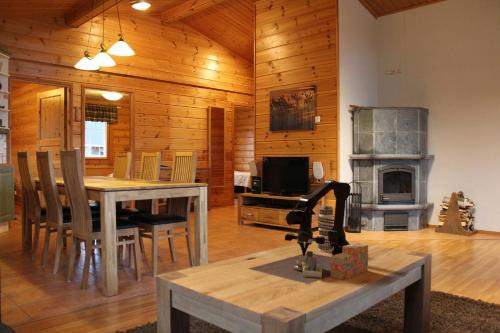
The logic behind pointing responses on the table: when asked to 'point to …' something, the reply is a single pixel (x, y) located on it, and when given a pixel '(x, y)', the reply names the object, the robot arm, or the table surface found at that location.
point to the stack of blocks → (350, 261)
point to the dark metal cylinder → (312, 264)
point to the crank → (299, 262)
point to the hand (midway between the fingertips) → (303, 256)
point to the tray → (312, 272)
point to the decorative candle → (325, 227)
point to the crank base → (299, 267)
